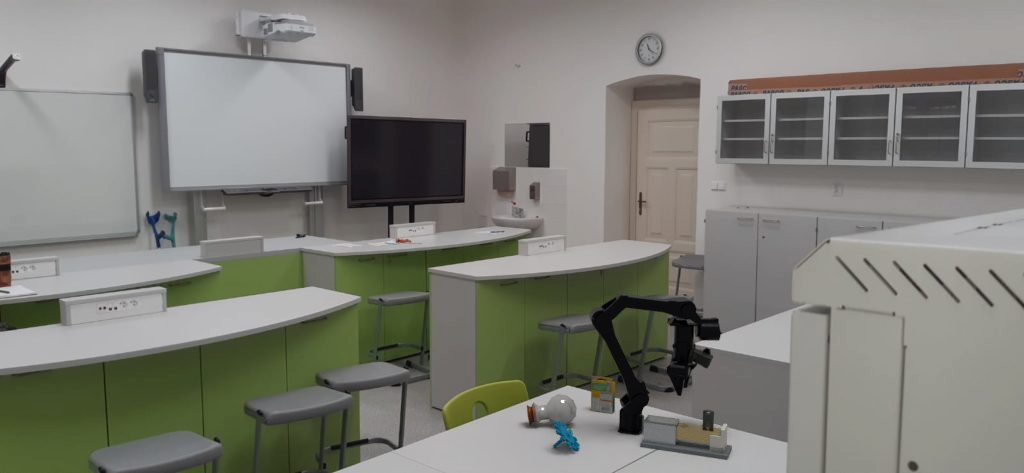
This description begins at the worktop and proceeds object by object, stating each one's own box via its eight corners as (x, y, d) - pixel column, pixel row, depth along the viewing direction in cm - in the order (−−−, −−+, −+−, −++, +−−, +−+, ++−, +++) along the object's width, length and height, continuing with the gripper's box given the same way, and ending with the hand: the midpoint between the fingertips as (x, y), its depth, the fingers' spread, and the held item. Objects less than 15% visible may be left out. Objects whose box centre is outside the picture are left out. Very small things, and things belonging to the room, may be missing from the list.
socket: (709, 451, 218) (710, 428, 217) (712, 444, 223) (713, 422, 223) (723, 453, 216) (724, 430, 216) (726, 446, 222) (727, 424, 221)
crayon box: (615, 411, 256) (615, 376, 255) (612, 413, 254) (613, 378, 253) (593, 408, 259) (594, 373, 258) (590, 410, 257) (591, 375, 256)
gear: (576, 451, 215) (552, 422, 218) (560, 464, 217) (537, 435, 219) (585, 443, 226) (563, 415, 228) (571, 456, 227) (548, 428, 230)
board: (640, 446, 224) (640, 443, 224) (647, 436, 232) (647, 433, 232) (727, 459, 215) (727, 456, 215) (731, 448, 223) (731, 445, 223)
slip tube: (668, 438, 223) (669, 408, 222) (671, 434, 227) (672, 404, 226) (719, 445, 218) (720, 414, 217) (721, 441, 221) (722, 411, 220)
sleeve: (643, 441, 225) (644, 420, 225) (647, 435, 230) (648, 414, 230) (675, 446, 222) (675, 424, 221) (678, 440, 227) (679, 418, 226)
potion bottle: (579, 430, 242) (531, 437, 241) (573, 404, 249) (526, 410, 248) (580, 411, 236) (530, 418, 234) (573, 385, 243) (525, 392, 242)
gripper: (706, 349, 224) (704, 403, 225) (716, 336, 241) (714, 386, 242) (666, 345, 228) (665, 398, 229) (679, 333, 245) (678, 382, 246)
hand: (682, 391), depth 237 cm, fingers open, 9 cm apart
